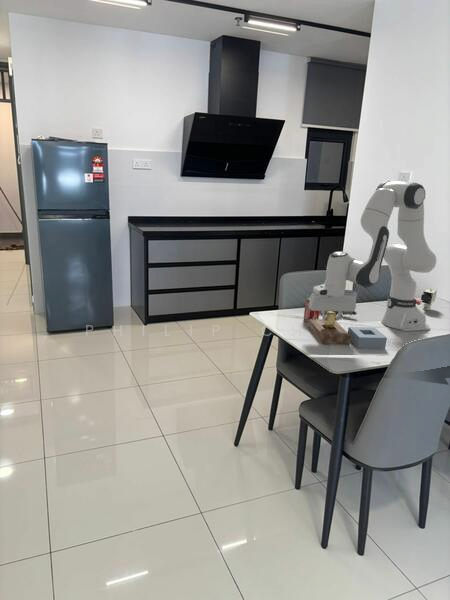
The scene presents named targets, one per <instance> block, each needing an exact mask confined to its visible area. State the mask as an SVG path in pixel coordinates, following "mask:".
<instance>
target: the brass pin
mask: <svg viewBox="0 0 450 600" xmlns="http://www.w3.org/2000/svg"><path fill="white" fill-rule="evenodd" d="M325 316H327V320H326V321H325V329H334V325H335V318H336V313H335V312H332V311H328V312H327V313H325Z"/></svg>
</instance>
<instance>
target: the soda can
mask: <svg viewBox="0 0 450 600" xmlns="http://www.w3.org/2000/svg"><path fill="white" fill-rule="evenodd" d="M309 300H310V296H309V297H307V298H306V301H305V305H304V312H303V321H304V322H306V323H307V324H309V319H319V318H320V313H321V312H320V311H312V310H311V309H310V308H309Z"/></svg>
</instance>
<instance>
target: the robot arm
mask: <svg viewBox="0 0 450 600" xmlns="http://www.w3.org/2000/svg"><path fill="white" fill-rule="evenodd" d="M425 199H426V189H425V188H424V186H423V185H422V184H420V183H417V182H411V181H405V180H404V181H403V180H401V181H398V180H397V181H390V180H388V181H387V180H386V181H383V182H380V184H379V185H378V186H377V188H376V189H375V191H374V192H373V194H372V195H371V197H370V198H369V200H368V201H367V203H366V205H365V207H364V210H363V212H362V214H361V218H360V226H361V228H362V229H363V231H364V232H365V233H366V234H367V235H369V236H370V238H371V240H372V245H371V248H370V253H369V255H368V259H367V261H363V260H359V259H356V258H354V257H352V256H351V255H349V253H348V252H347V251H346V252H345V251H334V252H332V253H330V254H329V256H328V260H327V262H326V263H327V265H326V270H325V274H326V277H325V280H324V283H322V284H319V285H314V286H313V287H312V291H313V292H312V293H311V295H310V296H309V297H310V300H309V308H310V309H311V310H312V311H321V312H320V313H321V315H322V320H327V316H326V313H325V311H338V314H337V315H336V318H335V321H336V322H337V321H339V320H340V318H341V316H342V315H343V314H342V311H355V310H356V308H357V297H358V293H357V291H356V290H354V289H351V290H350V289H346V288H347V287H346V285H347V281H349V282H351V283H354V284H357V285H358V286H361V287H363V288H370V287H373V286H374V285H376V284H377V283H378V281H379V280H380V275H381V269H382V268H381V267H382V263H383V260H384V262H385V263H386V264H387V266H388V268H389V271H390V275H391V284H390V285H391V286H390V292H389V295H388V298H387V303H386V304H387V305H386V309H385V312H384V315H383V317H382V320H381V324H382V325H384V326H386V327H389V328H393V329H396V330H400V331H402V332H403V331H405V332H414V331H416V332H417V331H428V330H431V329H430V328H431V327H430V325H429V324H428V323H427V316H426V315H425V313H424V312H423V311H422V310H420V308H418V306H420V305H421V304H422V300H420V299H415V295H416V288H417V281H416V279H414V278H413V277H412V275H411V272H415V273H419V274H420V273H423V274H425V273H430V272H432V271H433V270H434V269H435V267H436V264H437V256H436V254H435V253H434V252H433V251H432V250H431V249H430V247H429V245H428V244H427V241H426V238H425V233H424V232H425V231H424V229H425V227H424V226H425V224H424V223H425V205H424V201H425ZM394 208H398V211H397V236H398V237H399V239H400V240H401V241H402V242H403V244H402V243H399V244H396V243H394V244H392V243H391V244H389V245H388V242H389V238H390V231H389V229H388V224H389V220H390V218H391V215H392V213H393V211H394ZM410 271H411V272H410ZM341 314H342V315H341Z"/></svg>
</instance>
